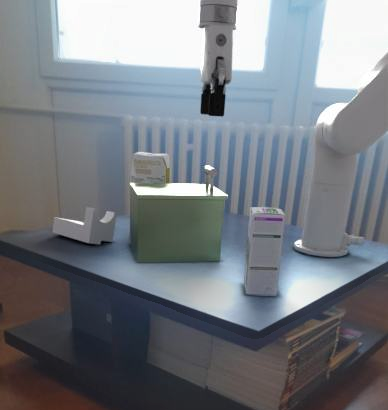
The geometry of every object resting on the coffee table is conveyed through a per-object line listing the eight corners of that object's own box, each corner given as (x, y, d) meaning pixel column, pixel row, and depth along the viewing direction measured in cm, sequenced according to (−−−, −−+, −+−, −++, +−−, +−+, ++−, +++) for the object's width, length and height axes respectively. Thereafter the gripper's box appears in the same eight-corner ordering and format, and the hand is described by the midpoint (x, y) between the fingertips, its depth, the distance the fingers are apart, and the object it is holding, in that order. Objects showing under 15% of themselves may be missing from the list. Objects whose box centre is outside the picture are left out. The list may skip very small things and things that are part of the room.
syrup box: (277, 296, 89) (288, 214, 82) (244, 295, 89) (252, 212, 82) (273, 286, 94) (283, 207, 88) (242, 284, 94) (249, 205, 88)
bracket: (111, 246, 117) (117, 213, 115) (88, 243, 111) (94, 208, 110) (75, 235, 124) (80, 204, 122) (52, 232, 118) (56, 199, 117)
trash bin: (203, 243, 120) (207, 188, 114) (219, 261, 107) (224, 200, 101) (130, 244, 116) (129, 186, 110) (137, 262, 103) (137, 199, 97)
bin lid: (210, 188, 114) (212, 163, 112) (228, 199, 101) (230, 171, 99) (129, 186, 110) (129, 160, 108) (137, 198, 97) (137, 169, 95)
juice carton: (162, 239, 121) (164, 156, 113) (128, 235, 123) (128, 153, 115) (170, 232, 128) (173, 153, 120) (138, 229, 129) (138, 150, 121)
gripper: (247, 14, 91) (238, 117, 98) (227, 26, 106) (220, 114, 114) (206, 11, 90) (200, 115, 97) (192, 23, 105) (188, 113, 113)
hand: (211, 115), depth 106 cm, fingers open, 9 cm apart
